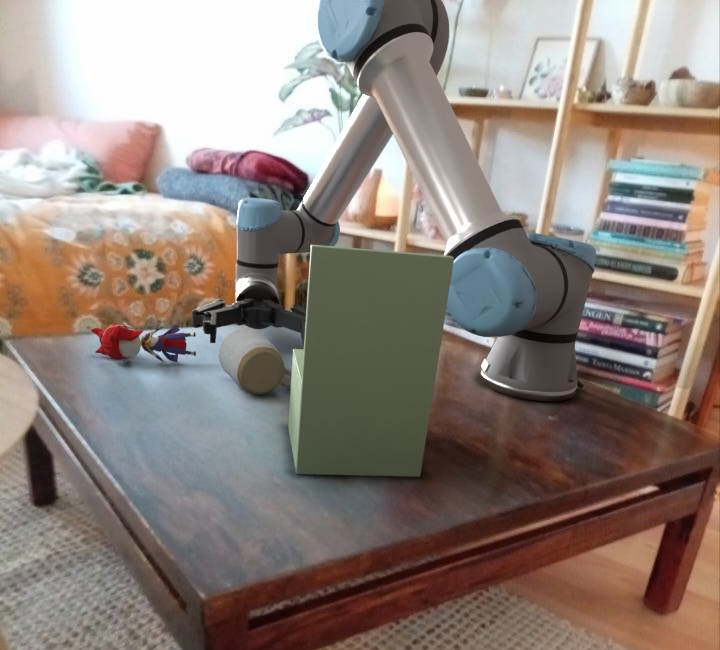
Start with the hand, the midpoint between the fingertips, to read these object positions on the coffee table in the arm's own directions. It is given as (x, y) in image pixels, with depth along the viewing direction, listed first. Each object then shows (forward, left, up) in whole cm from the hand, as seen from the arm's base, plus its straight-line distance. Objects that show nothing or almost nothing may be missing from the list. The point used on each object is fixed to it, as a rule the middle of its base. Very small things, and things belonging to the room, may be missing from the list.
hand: (260, 336), depth 102 cm
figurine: (+17, -4, -6) cm, 19 cm away
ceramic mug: (0, +5, -6) cm, 8 cm away
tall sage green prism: (-10, +26, -6) cm, 28 cm away
